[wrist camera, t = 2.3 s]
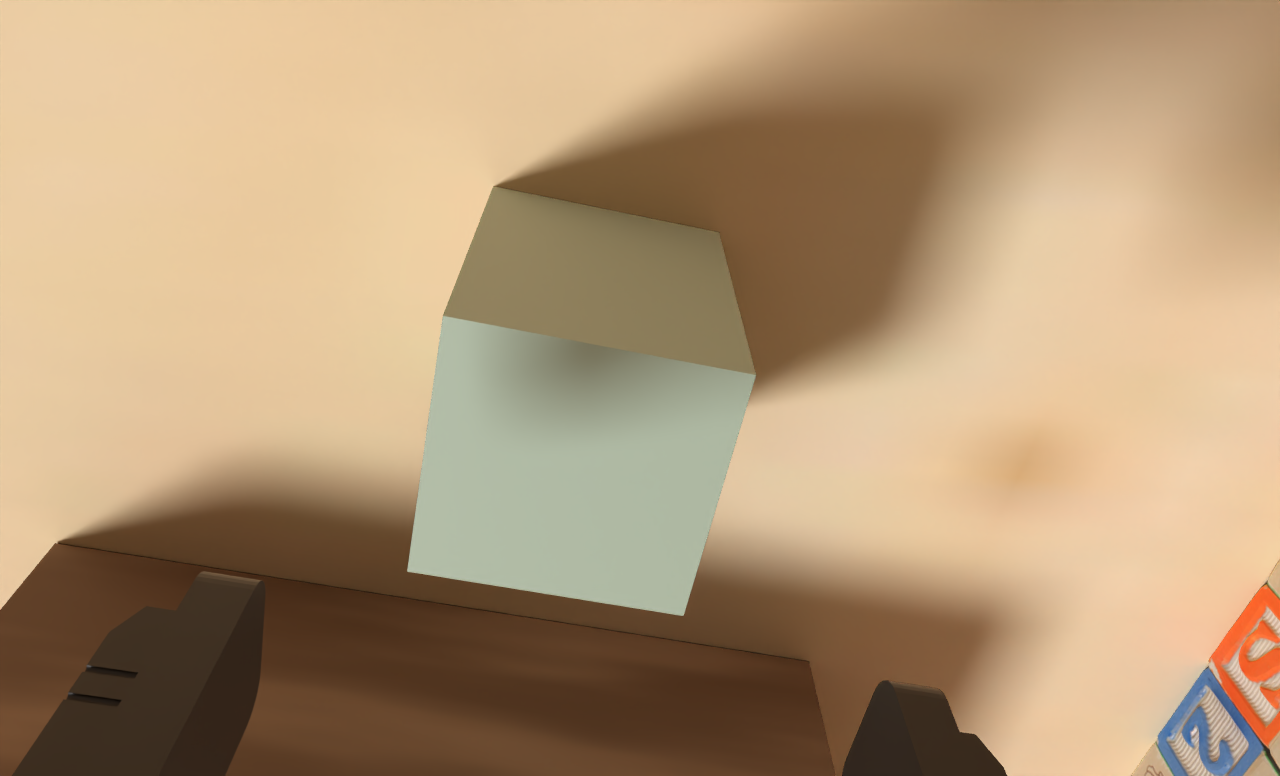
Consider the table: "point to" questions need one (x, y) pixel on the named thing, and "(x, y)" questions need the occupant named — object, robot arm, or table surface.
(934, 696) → the robot arm
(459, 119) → the table surface
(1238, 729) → the stack of blocks
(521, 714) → the block
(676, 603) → the sage block
